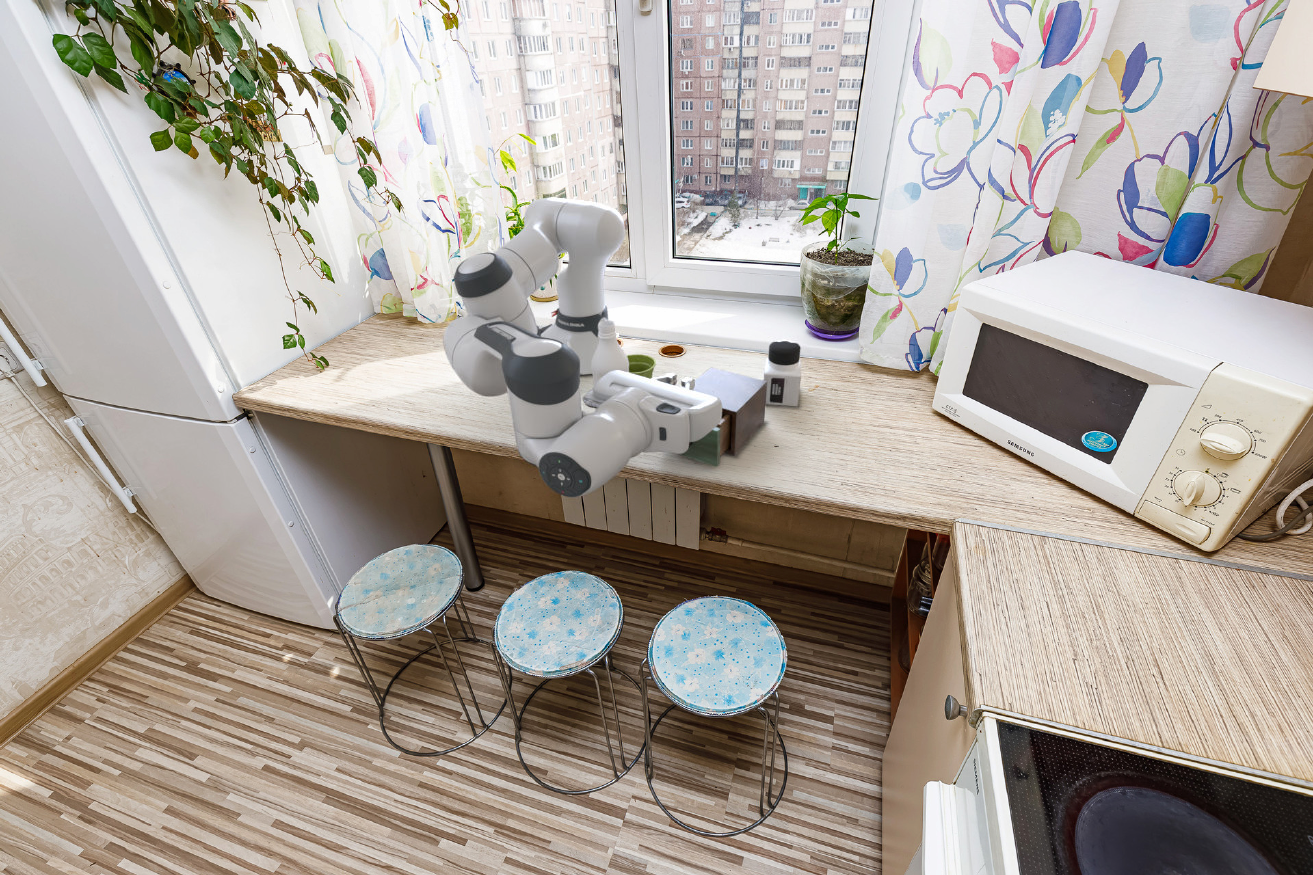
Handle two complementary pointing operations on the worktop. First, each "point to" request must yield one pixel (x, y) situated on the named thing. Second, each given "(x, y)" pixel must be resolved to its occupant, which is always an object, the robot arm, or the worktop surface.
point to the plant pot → (641, 365)
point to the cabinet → (736, 402)
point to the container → (783, 373)
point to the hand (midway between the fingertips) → (681, 379)
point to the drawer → (712, 443)
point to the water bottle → (608, 352)
